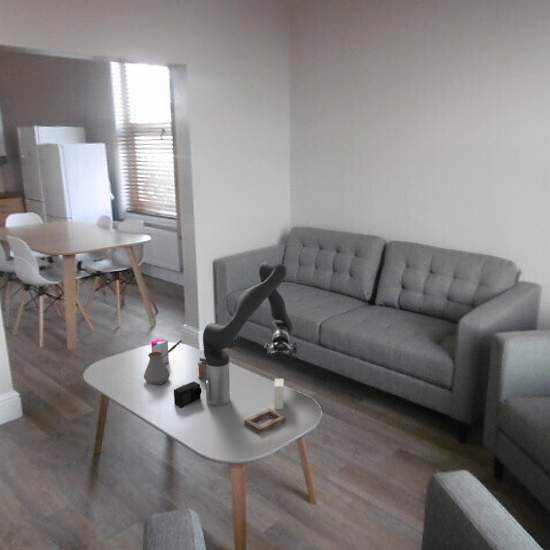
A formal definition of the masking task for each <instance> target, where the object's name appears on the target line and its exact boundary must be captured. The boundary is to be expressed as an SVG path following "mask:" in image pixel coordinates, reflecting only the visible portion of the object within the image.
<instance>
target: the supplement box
mask: <svg viewBox="0 0 550 550" xmlns="http://www.w3.org/2000/svg"><path fill="white" fill-rule="evenodd" d="M150 344H151V345H150V346H151V353H152V352H162V353H163V355H164V354H166V353H167V352H168V351H169V341H168V340H167V339H163V338H157V339H154V340H152V341H151V342H150ZM169 356H170V355H169V353H168V354H167V355H166V356H165V357H164V358H163V359H162V360H163V361H164V363H165V365H167V364H169V362H170V361H169V360H170V359H169Z"/></svg>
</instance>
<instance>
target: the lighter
mask: <svg viewBox="0 0 550 550" xmlns="http://www.w3.org/2000/svg"><path fill="white" fill-rule="evenodd" d="M198 359H199V362H198V363H197V364H198V380H201V381H207V367H206V358H205V357H199V358H198Z"/></svg>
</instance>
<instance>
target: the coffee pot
mask: <svg viewBox="0 0 550 550" xmlns="http://www.w3.org/2000/svg"><path fill="white" fill-rule="evenodd" d="M180 343H181V344H184V341H183V340H181V339H180V340H179V341H178V342H176V343H175V344H174V345H172V346H171V347H170V349H168V352H167V353H166V354H164V355H163V353H162V352H152V351H151V352H150V353H148V357H149V360H148V364H147V366H146V368H145V371H144V374H143V379H144V380H145V382H146V383H148V384H150V385H153V386H154V385H155V386H158V385H162V384H164V383H166V382H167V381H168V379H169V378H170V375H171V373H170V370H169V369H168V367H167V364H165V363H164V361H163V360H162V359H163V358H164V357H165V356H166V355H167V354H168V355H169V354H170V353H172V351H174V349H176V348H177V346H179V345H180Z"/></svg>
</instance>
